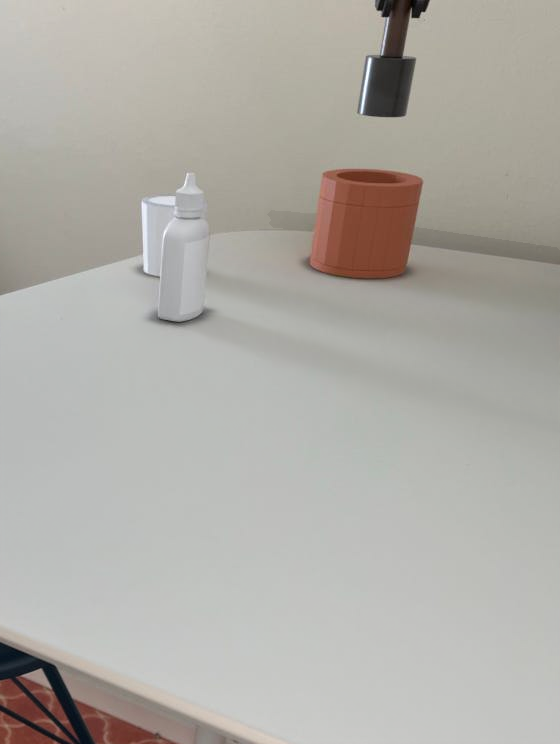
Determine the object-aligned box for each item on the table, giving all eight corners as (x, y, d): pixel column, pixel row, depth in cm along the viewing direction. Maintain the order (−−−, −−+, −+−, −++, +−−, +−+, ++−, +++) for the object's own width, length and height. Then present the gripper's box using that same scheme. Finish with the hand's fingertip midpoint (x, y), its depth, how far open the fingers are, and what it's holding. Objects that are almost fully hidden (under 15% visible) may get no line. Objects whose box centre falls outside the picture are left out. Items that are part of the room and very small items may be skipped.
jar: (384, 255, 113) (400, 168, 108) (420, 278, 105) (438, 185, 100) (298, 255, 112) (309, 168, 107) (326, 279, 104) (340, 186, 99)
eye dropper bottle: (219, 317, 92) (232, 175, 85) (168, 324, 89) (178, 180, 83) (192, 305, 95) (203, 167, 88) (142, 312, 92) (150, 171, 86)
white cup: (177, 260, 109) (181, 191, 105) (215, 274, 104) (221, 203, 101) (125, 267, 106) (128, 196, 102) (161, 282, 101) (166, 209, 98)
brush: (395, 111, 102) (422, -42, 95) (413, 117, 98) (443, -42, 91) (350, 111, 101) (374, -44, 94) (366, 117, 98) (393, -44, 90)
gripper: (344, -183, 93) (335, -25, 90) (495, -182, 92) (492, -21, 89) (329, -109, 100) (321, 40, 97) (469, -107, 99) (465, 44, 96)
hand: (402, 10), depth 93 cm, fingers closed on brush
